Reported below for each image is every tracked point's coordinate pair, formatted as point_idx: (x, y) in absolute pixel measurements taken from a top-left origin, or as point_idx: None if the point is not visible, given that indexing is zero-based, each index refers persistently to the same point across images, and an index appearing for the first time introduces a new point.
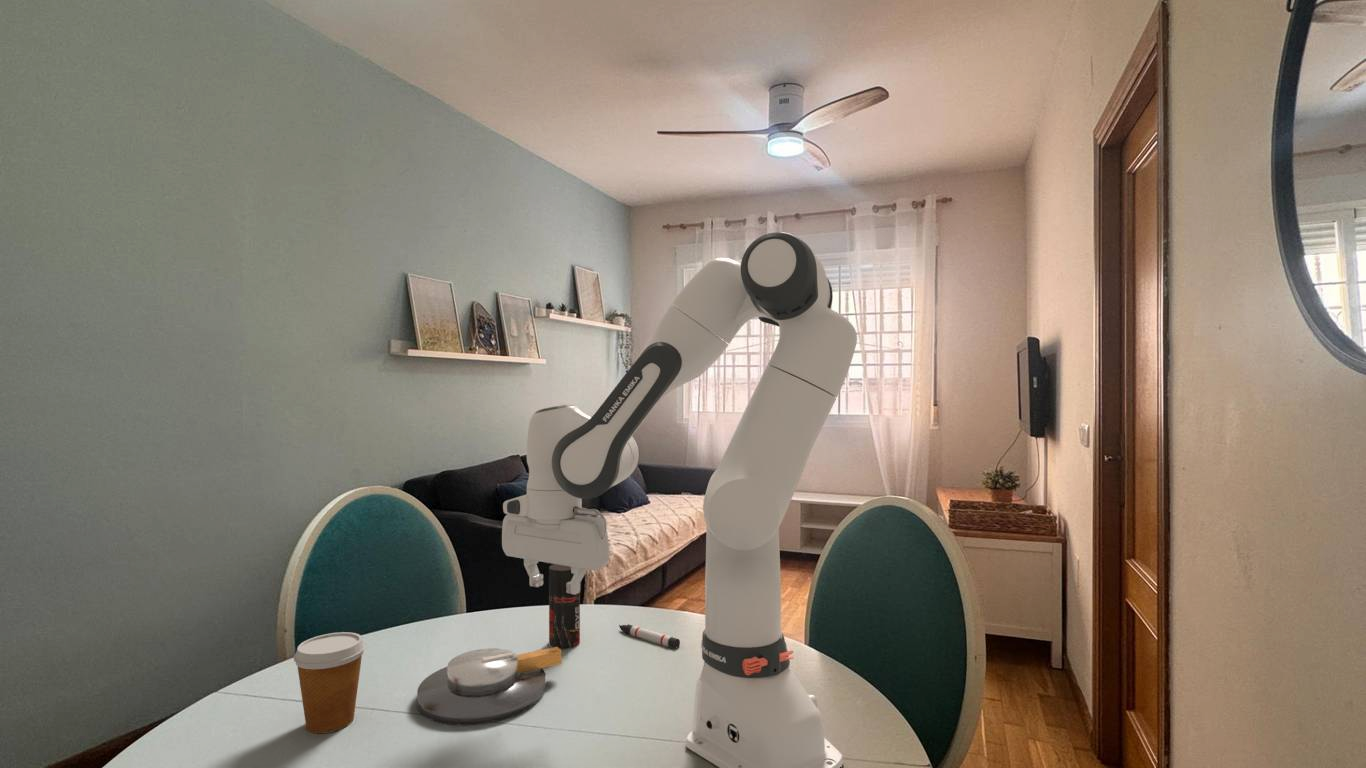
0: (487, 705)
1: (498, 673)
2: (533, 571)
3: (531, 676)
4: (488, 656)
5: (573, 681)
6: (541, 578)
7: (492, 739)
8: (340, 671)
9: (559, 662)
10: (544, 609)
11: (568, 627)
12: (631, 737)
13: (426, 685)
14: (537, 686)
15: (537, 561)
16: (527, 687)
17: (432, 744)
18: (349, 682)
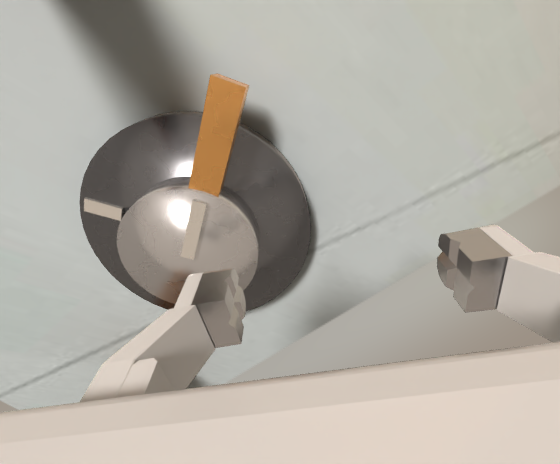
0: (284, 270)
1: (257, 260)
2: (193, 353)
3: (242, 163)
4: (170, 236)
5: (281, 70)
6: (233, 299)
7: (337, 280)
8: None
9: (247, 91)
10: None
11: None
12: (525, 153)
13: (150, 293)
14: (290, 182)
15: (159, 379)
16: (279, 197)
17: (287, 322)
18: None
